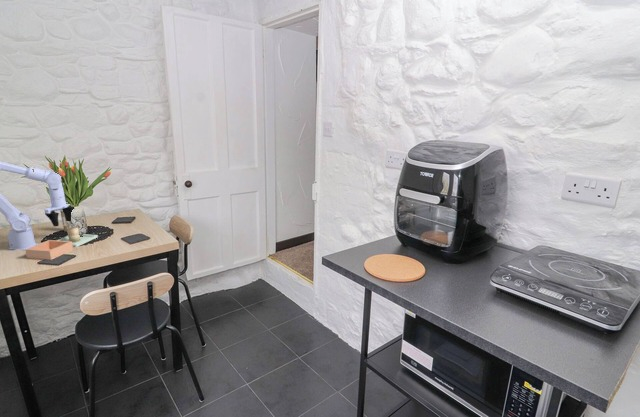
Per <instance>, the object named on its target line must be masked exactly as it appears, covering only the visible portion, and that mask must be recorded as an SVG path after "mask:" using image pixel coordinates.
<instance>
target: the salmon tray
mask: <svg viewBox="0 0 640 417" xmlns="http://www.w3.org/2000/svg"><path fill="white" fill-rule="evenodd" d="M56 240H57V239H56ZM56 240H55V239H54V240H53V239H48V240H45V241H43V242H41V243H39V244H38V245H35V246H33V247H30V248H28V249H25V250H24V251H25V256H26V259H36V260H48V261H51V260H53V259H57V258H58V257H60V256H62V255H65V254H67V253H69V252H71V251H73V250H74V247H73V245H72V241H56Z"/></svg>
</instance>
